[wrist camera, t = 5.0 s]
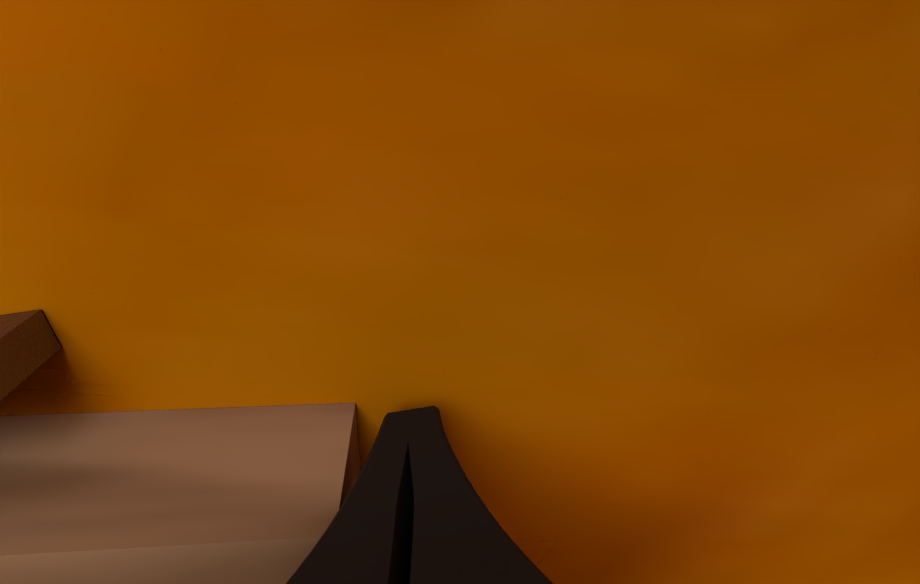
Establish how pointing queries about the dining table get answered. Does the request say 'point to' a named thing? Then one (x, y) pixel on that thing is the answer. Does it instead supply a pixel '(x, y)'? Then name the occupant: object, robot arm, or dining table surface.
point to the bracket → (23, 347)
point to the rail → (171, 493)
